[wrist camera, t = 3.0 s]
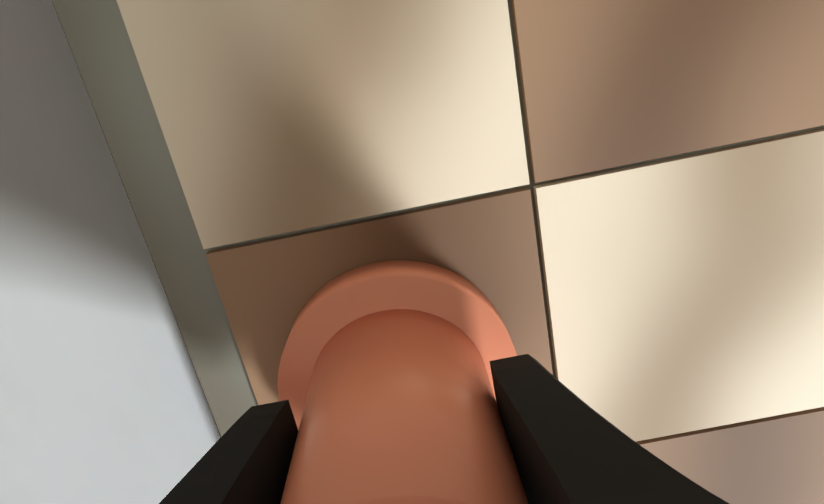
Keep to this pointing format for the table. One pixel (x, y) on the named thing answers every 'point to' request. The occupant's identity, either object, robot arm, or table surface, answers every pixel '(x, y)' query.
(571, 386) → the board
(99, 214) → the table surface
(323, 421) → the pawn
